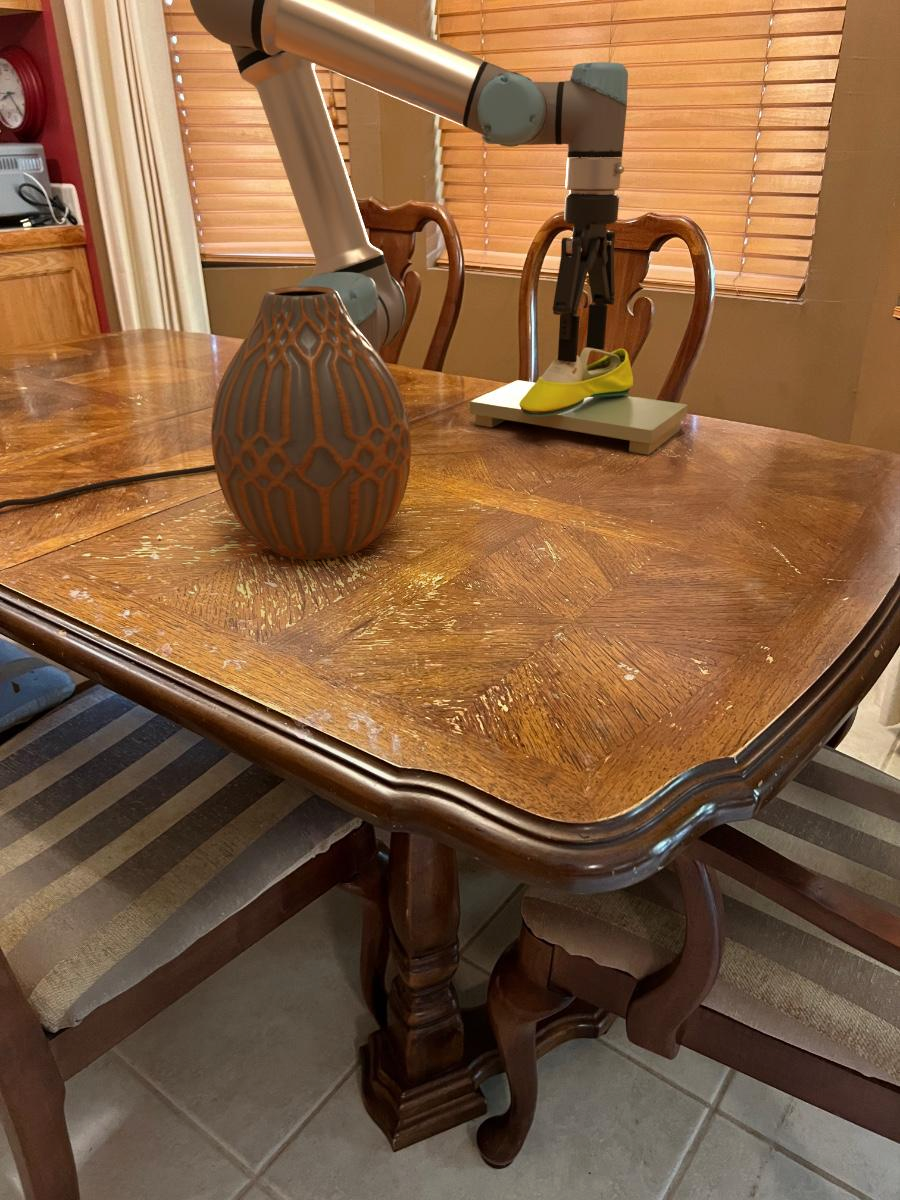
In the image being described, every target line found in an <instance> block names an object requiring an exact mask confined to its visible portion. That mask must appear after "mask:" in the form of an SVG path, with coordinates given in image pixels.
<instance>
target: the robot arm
mask: <svg viewBox="0 0 900 1200" xmlns="http://www.w3.org/2000/svg"><path fill="white" fill-rule="evenodd" d="M189 3H190V5H191V8H192V11H193V13H194V15H195V17H196V19H197V20H198V22H199V23H200V25H201V26H202V27H203V28H204V29H205V30H206V32H207V33H208V34H210V35H211V36H212V37H213V38H214V39H217V40H218V41H220V42H222V43H224V44H227V45H229V46H230V49H231V52H232V55H233V57H234V59H235V64H236V66H237V69H238V71H239V75H240V77H241V79H242V80H243V81H245V82H247V83H248V84H249V85H252V86H253V87H254V88H255V89H256V90H257V94H258V96H259V99H260V103H261V105H262V108H263V111H264V114H265V116H266V119H267V123H268V125H269V128H270V131H271V134H272V137H273V139H274V142H275V145H276V149H277V151H278V154H279V158H280V160H281V162H282V166H283V168H284V172H285V174H286V177H287V179H288V180H287V181H288V184H289V186H290V189H291V192H292V195H293V198H294V200H295V203H296V207H297V209H298V212H299V215H300V218H301V220H302V224H303V226H304V229H305V232H306V236H307V238H308V241H309V244H310V247H311V249H312V250H311V251H312V252H313V255H314V258H315V266H314V268H313V270H312V273H311V276H309V277H307V278H304V279H302V280H301V281H300V282H299V283H298V284H297V285H296V286H319V287H328V288H332V289H335V290H336V291H337V292H338V293H339V295H340V298H341V300H342V302H343V304H344V306H345V309H346V311H347V313H348V314H349V316H350V318H351V320H352V321H353V323H354V324H355V326H356V327H357V328H358V329H359V331H360V332H361V333H362V334H363V336H364V337H365V338H366V339H367V340H368V342H369V343H370V344H371V345H372V347H373V348H374V349H375V350H376V352H377V353H378V354H379V355H380V351H381V350H382V349H384V348H386V347H387V346H388V345H389V344H391V343H392V342H393V341H395V339H396V337H397V336H398V335H399V333H400V332H401V330H402V327H403V326H404V323H405V320H406V315H407V301H406V296H405V294H404V291H403V289H402V287H401V285H400V284H399V282H398V281H397V280H396V279H395V278H394V277H393V276H392V275H391V274H390V272H389V271H390V270H389V267H388V264H387V262H386V258H385V255H384V252H383V251H382V250H381V249H380V248H377V247H376V246H374V245H372V244H371V243H370V240H369V236H368V234H367V231H366V227H365V224H364V221H363V218H362V215H361V212H360V209H359V205H358V202H357V200H356V195H355V193H354V190H353V187H352V184H351V180H350V177H349V175H348V171H347V168H346V165H345V161H344V159H343V156H342V153H341V149H340V146H339V142H338V139H337V136H336V134H335V130H334V127H333V124H332V120H331V118H330V115H329V112H328V109H327V105H326V102H325V99H324V95H323V93H322V89H321V86H320V83H319V80H318V78H317V77H318V76H317V74H316V71H315V68H316V67H315V66H319V67H321V68H324V69H326V70H328V71H331V72H333V73H336V74H338V75H340V76H343V77H345V78H347V79H350V80H352V81H354V82H357V83H359V84H362V85H364V86H367V87H369V88H372V89H373V90H376V91H378V92H380V93H383V94H385V95H388V96H390V97H392V98H395V99H397V100H399V101H402V102H405V103H406V104H409V105H411V106H414V107H417V108H419V109H422V110H424V111H425V112H426V111H427V112H429V113H431V114H433V115H436V116H438V117H440V118H443V119H445V120H447V121H450V122H452V123H455V124H458V125H460V126H462V127H465V128H467V129H468V130H470V131H473V132H475V133H477V134H480V135H481V137H482V140H483V141H484V142H485V144H488V145H492V146H493V145H494V146H495V145H497V146H501V147H508V148H510V147H511V148H512V147H517V146H537V145H538V146H541V145H544V146H545V145H557V146H561V145H567V158H566V159H567V160H566V171H565V172H566V173H565V174H566V175H565V189H566V190H567V191H569V192H568V194H566V196H565V197H564V212H563V213H564V215H563V220H564V222H565V223H567V224H572V225H573V230H572V234H571V237H562V239H561V245H560V260H559V267H558V273H557V279H556V280H557V281H556V286H555V292H554V297H553V304H552V312H553V315H555V316H559V329H558V330H559V331H558V346H557V347H558V349H557V356H558V360H559V361H567V362H576V361H577V356H578V345H579V332H580V331H579V330H580V329H579V328H580V315H577V313H578V310H579V305H580V302H581V298H582V295H583V291H584V287H585V283H586V279H587V276H588V282H589V289H590V295H591V302H592V303H589V304H588V318H587V330H586V331H587V332H586V345H585V348H594V349H598V350H602V351H604V350H605V343H606V331H607V330H606V329H607V319H608V318H607V317H608V305H609V306H613V305H614V304H615V295H616V291H615V289H616V287H615V286H616V285H615V242H616V232H615V231H614V230H613V231H612V230H607V225H611V224H615V223H616V222H617V220H618V218H619V207H620V206H619V205H620V197H619V195H618V194H616V191H617V190H619V189H620V187H621V176H622V174H623V173H624V172H625V168H624V166H623V164H622V163H623V162H622V161H623V151H624V142H625V141H624V140H625V131H626V130H625V129H626V120H627V108H628V85H629V84H628V83H629V72H628V69H627V68H626V67H625V65H624V64H622V63H619V62H609V61H607V62H606V61H596V62H582V63H577V64H575V65H574V66H573V67H572V70H571V75H570V79H569V80H564V81H533V80H532V79H531V78H529V77H528V76H526V75H524V74H521V73H518V72H515V71H510V70H508V69H505V68H503V67H501V66H499V65H496V64H493V63H491V62H488V61H486V60H484V59H483V58H479V57H478V56H475V55H473V54H471V53H468V52H466V51H463V50H461V49H458V48H456V47H454V46H451V45H449V44H447V43H444V42H442V41H439V39H438V40H437V39H435V38H433V37H430V36H428V35H425V34H423V33H421V32H419V31H416V30H414V29H412V28H409V27H407V26H404V25H402V24H400V23H397V22H395V21H393V20H390V19H388V18H386V17H384V16H381V15H379V14H376V13H374V12H372V11H369V10H367V9H365V8H363V7H362V8H361V7H360V6H357V5H355V4H353V3H350V2H348V1H347V0H346V1H345V0H189ZM212 471H216V469H215V464H209V465H205V466H197V467H191V468H183V469H174V470H167V471H160V472H154V473H147V474H141V475H135V476H128V477H127V476H126V477H122V478H116V479H110V480H105V481H101V482H95V483H90V484H86V485H81V486H78V487H73V488H69V489H65V490H61V491H58V492H54V493H50V494H45V495H41V496H38V497H31V498H14V499H5V500H2V501H0V510H2V509H3V508H7V507H11V506H28V505H29V506H30V505H37V504H40V503H45V502H50V501H53V500H57V499H61V498H65V497H69V496H71V495H72V496H73V495H76V494H81V493H84V492H90V491H93V490H98V489H103V488H107V487H113V486H119V485H125V484H131V483H138V482H144V481H149V480H157V479H162V478H170V477H177V476H184V475H186V476H187V475H193V474H200V473H206V472H212ZM11 685H12V689H13V693H14V692H15V693H18V692H19V691H21V687H20V684H18V683H16V682H15V681H11ZM15 693H14V694H15Z"/></svg>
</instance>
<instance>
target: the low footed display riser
mask: <svg viewBox="0 0 900 1200" xmlns="http://www.w3.org/2000/svg"><path fill="white" fill-rule="evenodd" d="M535 383H536V382H532V381H527V380H526V381H525V380H518V379H517V380H515V381H513V382H510V383H508V384H506V385H503V386H501V387H499V388H497V389H495V390H492V391H490V392H488V393H485V394H483V395H481V396H479V397H475V398H474V399H472V400H470V401H469V414H470V415H475V425H476V426H479V427H480V426H481V427H486V428H494V427H496V426H498V425H500V424H501V423H504V422H506V421H512V422H517V423H523V424H528V425H535V426H541V427H548V428H553V429H559V430H566V431H571V432H576V433H577V432H578V433H583V434H587V435H588V434H589V435H595V436H600V437H601V436H602V437H607V438H612V439H618V440H625V441H629V446H628V453H635V454H640V455H646V456H650V455H651V453H653V452H654V451H656V449H658V448H659V447H661V446H662V445H664V443H666V442H667V441H668V440H670V439H671V438H672V437H673V436H675V435H676V434H678V433H679V432H680V431H681V426H682V425H681V424H682V421H683V420H685V419H686V418H687V417H688V409H689V404H686V403H680V402H672V401H666V400H660V399H659V400H658V399H651V398H645V397H638V396H630V395H621V396H608V397H587V398H584V401H583V403H582V404H581V405H579V406H578V407H576V408H574V409H572V410H569V411H567V412H564V413H561V414H557V415H552V416H547V417H529V416H526V415H524V414H523V412H522V409H521V407H520V406H519V403H520V401H521V400H522V398H523V397H524V396H525V395H526V393H527V392H528V391H529V390H530V389H531V387H532V386H533V385H534V384H535Z"/></svg>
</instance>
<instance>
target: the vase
mask: <svg viewBox="0 0 900 1200" xmlns="http://www.w3.org/2000/svg"><path fill="white" fill-rule="evenodd" d="M257 312H258V313H257V314H256V318H255V319H254V322H253V325H252V326H251V328H250V330H249V332H248V333H247V335H246V336H245V338H244V340H243V341H242V343H241V344H240V346H239V347H238V349H237V351H236V353H235V354H234V356H233V357H232V359H231V360H230V362H229V364H228V365H227V368H226V369H225V371H224V373H223V375H222V377H221V379H220V382H219V385H218V387H217V391H216V395H215V399H214V403H213V409H212V410H213V411H212V416H211V417H212V418H211V425H210V426H211V428H210V429H211V432H210V440H211V452H212V456H213V463H214V464H213V465H215V469H216V470H215V473H216V477H217V482H218V485H219V486H220V490H221V492H222V495H223V497H224V499H225V501H226V504H227V506H228V507H229V510H230V511H231V513H232V514H233V516H234V517H235V519H236V521H237V522H238V524H239V525H240V526H241V527H242V528H243V529H244V530H245V531H246V532H247V533H248V534H249V535H250V536H251V537H252V538H253V539H254V540H256V541H257V542H259V543H260V544H261V545H263V547H266V548H267V549H269V550H270V551H272V552H273V553H275V554H278V555H280V556H283V557H285V558H290V559H297V560H306V561H308V560H309V561H314V560H315V561H319V560H329V559H336V558H342V557H345V556H349V555H353V554H355V553H357V552H359V551H362V550H363V549H365V548H367V547H368V546H369V545H370V544H372V543H373V542H374V541H375V540H376V539H377V538H378V537H379V536H380V535H381V534H382V533H383V532H384V531H385V530H386V528H387V527H389V525H390V524H391V522H392V521H393V519H394V518H395V517H396V515H397V513H398V510H399V508H400V506H401V504H402V501H403V500H404V496H405V493H406V490H407V487H408V483H409V482H408V481H409V476H410V471H411V459H412V443H411V442H412V439H411V426H410V421H409V415H408V412H407V408H406V405H405V401H404V399H403V395H402V392H401V389H400V387H399V385H398V382H397V381H396V378H395V376H394V373H392V371H391V369H390V368H389V366H388V364H387V363H386V362H385V361H384V360H383V358H382V357H381V355H380V353H379V354H378V353H377V352H376V350H375V349H374V348H373V347H372V345H371V344H370V343H369V342H368V340H367V339H366V338H365V337H364V336H363V334H362V333H361V332H360V331H359V329H358V328H357V327H356V326H355V324H354V323H353V321H352V320H351V318H350V316H349V314H348V313H347V311H346V309H345V306H344V304H343V302H342V300H341V298H340V295H339V293H338V292H337V291H336V290H335V289H332V288H328V287H319V286H297V285H296V286H294V285H293V286H284V287H283V286H282V287H276V288H271V289H268V290H266V291H265V292H264V293H263V296H262V299H261V302H260V306H259V308H258V311H257Z"/></svg>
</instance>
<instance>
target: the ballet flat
mask: <svg viewBox="0 0 900 1200" xmlns="http://www.w3.org/2000/svg"><path fill="white" fill-rule="evenodd" d="M591 352H594V353H596V354H600V355H604V356H603V357H602V358H600V359H598V360H597V361H594V362H592V363H590V364H588V360H589V356H590V353H591ZM629 357H630V356H629V353H628V352H627V350H626V349H625V348H618V349H615V350H613V351H611V352H608V351H606V350H605V351H604V350H601V349H594V348H586V347H584V348H582V350H581V352H580V355H577V361H576V362H567V361H559V360H558V355H557V356H556V357H555V358H554V359H553V361H552V362H551V363H550V365H549V366H548V367H547V369H545V371H544V372H543V374H542V375H540V376H539V377H538V379H537V380H536V382H534V383H535V384H534V385H533V386H532V387H531V389H530V390H529V391H528V392H527V393H526V395H525V396H524V397H523V398H522V400H521V401H520V403H519V406H520V407H521V409H522V412H523V414H524V415H526V416H529V417H547V416H552V415H557V414H561V413H564V412H567V411H569V410H572V409H574V408H576V407H578V406H579V405H581V404H582V403H583V401H584V398H587V397H608V396H621V395H624V396H628V395H629V394H630V390H631V388H632V387H633V386H634V376H633V370H632V365H631V361H630V358H629Z"/></svg>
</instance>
